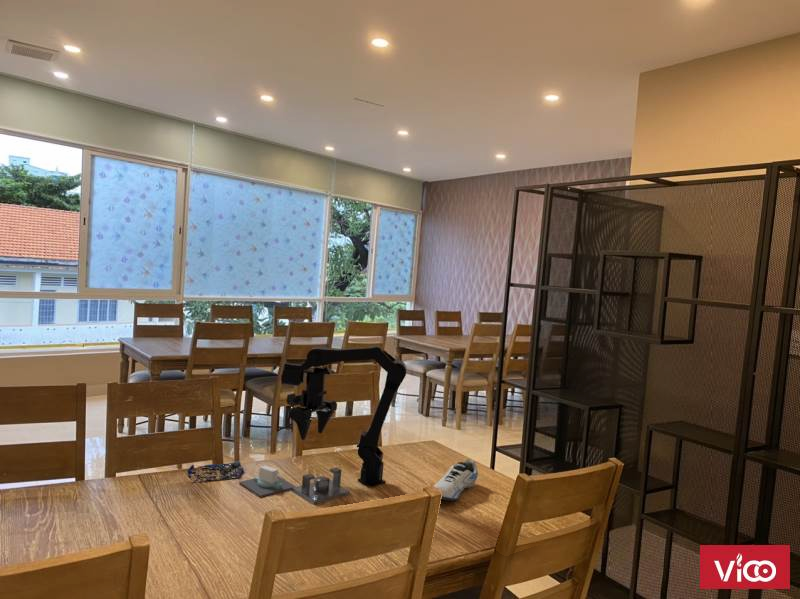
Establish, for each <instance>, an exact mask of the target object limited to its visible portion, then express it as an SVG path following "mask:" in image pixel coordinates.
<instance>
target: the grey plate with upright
mask: <svg viewBox="0 0 800 599" xmlns="http://www.w3.org/2000/svg"><path fill="white" fill-rule="evenodd" d="M329 472H330V473H333V475H332V480H331V479H330V478H329V477H327V476H317V477H315V476H316V475H313V474H311V473H307V474H303V475H302V480H301V485H299V486H296V487H293V488H292V490H291V492H293V493H294V494H296V495H297V496H299V497H301V498H302V499H304V500H306V501H307V502H309V503H311V504H313V505H316V504H320V503H323V502H327V501H330V500H333V499H337V498H340V497H345V496H348V495H351V490H349V489H347V488H346V487H344V486H342V485H341V481H342V480H341V478H342V469H340V468H339V467H332V468H329ZM311 480H314V482H311Z"/></svg>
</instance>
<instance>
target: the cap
mask: <svg viewBox="0 0 800 599" xmlns="http://www.w3.org/2000/svg"><path fill="white" fill-rule="evenodd" d="M278 474H279V469H278V468H275V467H272V466H268V465H262V466H260V467H259V472H258V476H255V477H253V479H254V481H255V482H258V484H257V485H258V486H259V487H262V488H273V487H274V488H277V489H280V488H282V484H280V483H278V479H277V478H278V476H279V475H278Z"/></svg>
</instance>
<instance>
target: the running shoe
mask: <svg viewBox="0 0 800 599" xmlns="http://www.w3.org/2000/svg"><path fill="white" fill-rule="evenodd" d="M477 467H478V466H477V463H476V460H473V459H470V458H466V460H465V461H464V462H463V461H459V462H457V463H456V464H455V465H454V464H453V465H451V466H450V468H448V470H447V471H446V472H445V473H444V475H443V476H442V477H441V479H440V480H439V481H437V482H436V483H435V484H434V485H433V486H434V487H436V488H438V489H439V490H441V491H442V499H441V500H444V501H450V502H457V501H458V499H459V497H460V495H461V493H462V491H464V489H467V488H469V489H470V488H472V487H474V486H475V484H476V481H477V479H478V475H479V472H478V468H477Z"/></svg>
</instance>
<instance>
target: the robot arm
mask: <svg viewBox="0 0 800 599" xmlns="http://www.w3.org/2000/svg"><path fill="white" fill-rule="evenodd" d="M368 360H369V361H370V360H374V361H375V362H376V363H377V364H378V365H379V366H380V367H381V368H382V369H383V371H385V372H386V377H385V378H386V379H385V384H384V388H383V391H382V394H381V395H380V398H379V401H378V404H377V407H376V409H375V411H374V415H373V417H372V420H371V422H370V426H368V429H367V430H364V429H362V430H361V435H360V438H359V439H358V440H357V441H358V442H357V444H356V448H358V449H357V455H358V457H359V458H360V459H361V460H362V464H361V467H360V478H357V481H358V482H359V483H362V484H363V485H366V486H367V487H370V488H374V487H376V486H379V485H383V484H386V480H384V479H383V476H384V475H383V474H384V461H383V459H384V451H382V450H381V449H380V448H379V446H378V445H379V440H380V434H381V432H382V428H383V426H384V424H385V422H386V418H387V415H388V412H389V410H390V407H391V404H392V402H393V399H394V397H395V394H396V392H397V391H398V389H399V388H400V386H401V384H402V383H403V381H404V380H405V378H406V375H407V365H406V363H405V362H404V361H402V360H401V359H396V358H395V357H393V355H391V354H389V352H387V351H386V350H384V349H383V347H381V345H377V344H376V345H374V346H361V347H345V348H333V347H328V346H320V345H317V346H314V347H313V348H311V349H310V350H309V351H308V353H307V354H306V360H305V361H303V362H302V363H301V364H297V363H291V362H285V363H284V365H283V370H282V374H281V377H280V379H281V380H280V381H281V382H280V383H281V385H283V386H293V387H294V386H296V387H301V386H302V384H305V389H303V390H301V393H300V394H295V393H294V392H293V393H289V394H287V395H286V396H287V397H286V404H287V405H288V406H290V409H288V413H287V415H288V416H287V418H288V419H290V420H291V421H294V423H296V424H295V425H296V426H297V428H298V433H299V436H300V439H301V441H305V440H306V437H307V435H308V432H309V429H310V427H311V426H310V425H311V423H312V419H311V418H312V414H313V413H316V415H317V433H318V434H322V433H323V432H324V430H325V428H326V426H327V424H328V423H329V421H330V419H331V417H332V416H333V414H335V411H337V410H338V402H336V400H331V399H326V398H324V396H325V395H327V392H328V391H327V390H326V389H325V384H326V383H325V382H326V376H327V375H331V374H332V372H333V371H332V370H331V369H330V368H329V366H328V365H331V364H334V363H339V362H351V361H352V362H355V361H368ZM312 367H313V369H311V368H312Z"/></svg>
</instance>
